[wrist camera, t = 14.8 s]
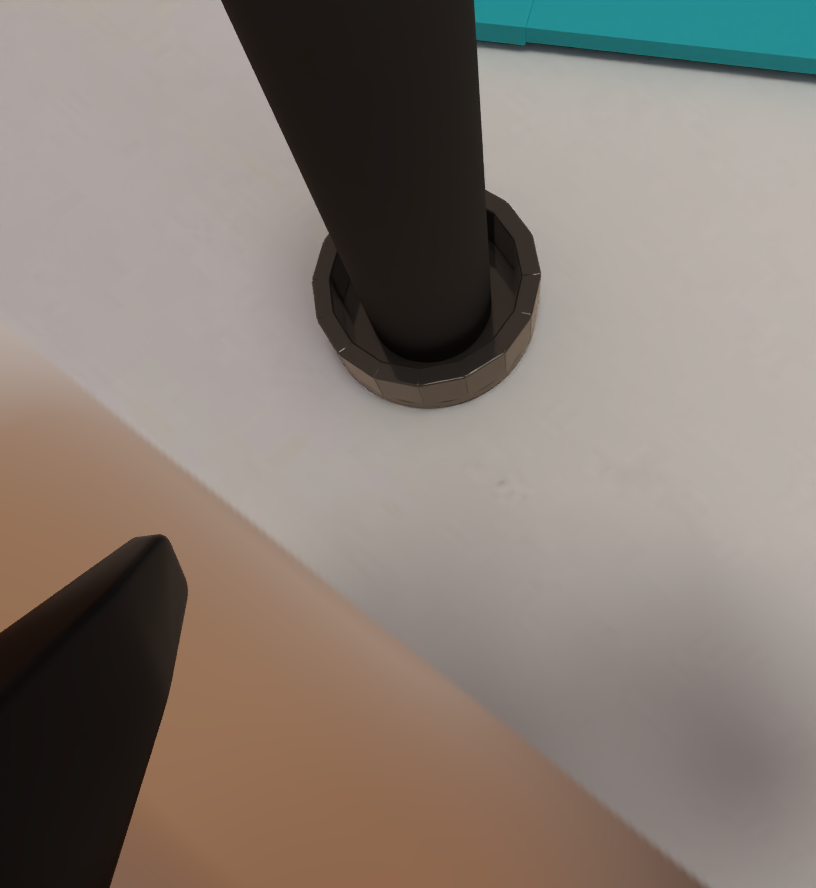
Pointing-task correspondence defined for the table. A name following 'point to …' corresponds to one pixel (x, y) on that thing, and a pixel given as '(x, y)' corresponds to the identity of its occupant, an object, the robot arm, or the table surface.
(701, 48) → the floppy disk
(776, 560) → the table surface
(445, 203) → the post
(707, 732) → the table surface
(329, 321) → the socket pad
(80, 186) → the table surface
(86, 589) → the robot arm
